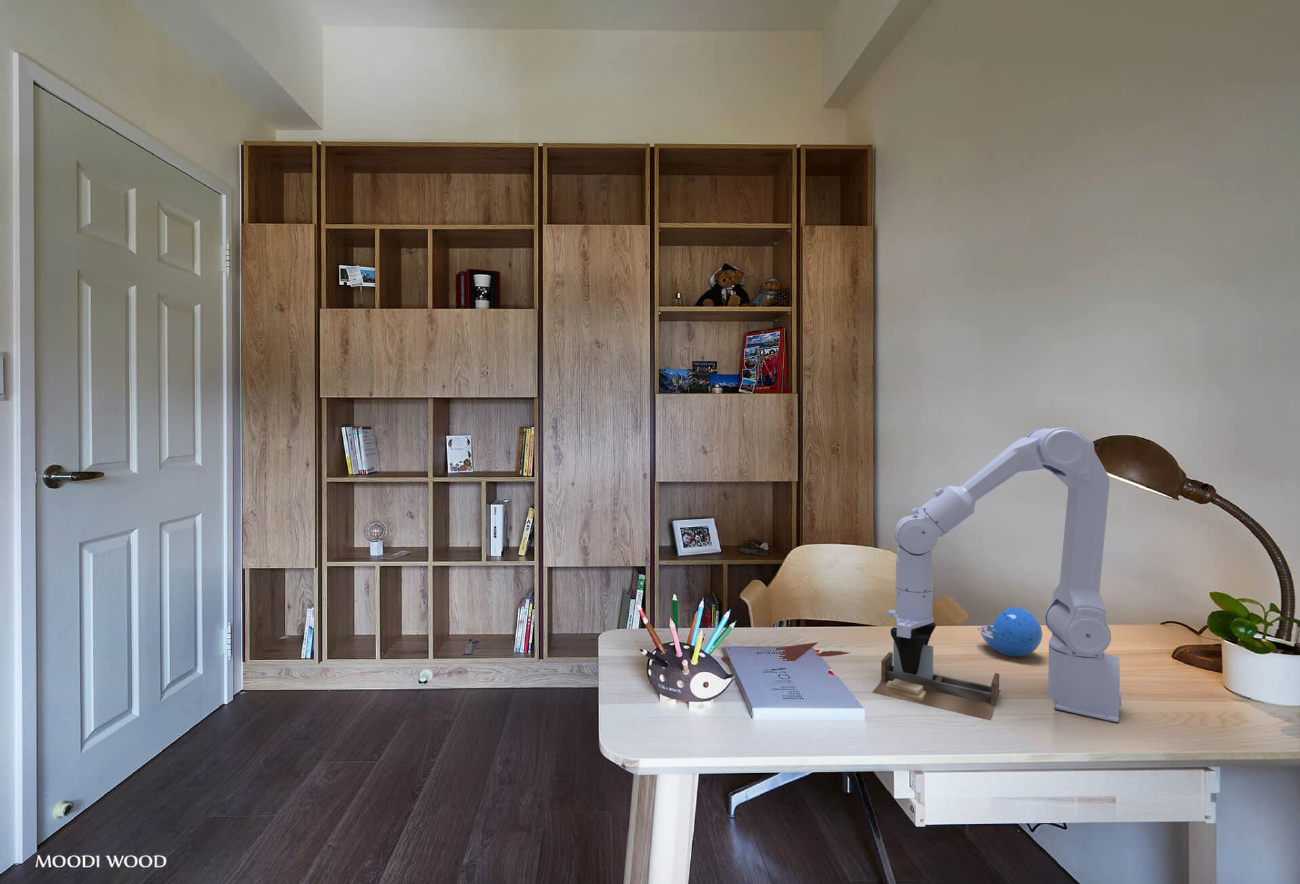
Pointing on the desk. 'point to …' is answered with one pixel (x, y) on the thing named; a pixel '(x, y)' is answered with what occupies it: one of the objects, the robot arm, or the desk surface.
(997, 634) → the cell model
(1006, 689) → the desk surface
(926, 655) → the slate board
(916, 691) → the offcut stack
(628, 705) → the desk surface
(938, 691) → the board with sliding block
